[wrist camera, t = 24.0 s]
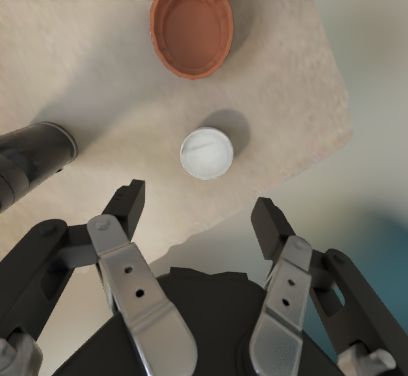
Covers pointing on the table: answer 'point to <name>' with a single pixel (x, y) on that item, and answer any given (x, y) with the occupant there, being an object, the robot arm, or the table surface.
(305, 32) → the table surface
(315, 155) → the table surface
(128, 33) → the table surface
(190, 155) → the ramekin
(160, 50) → the bowl
